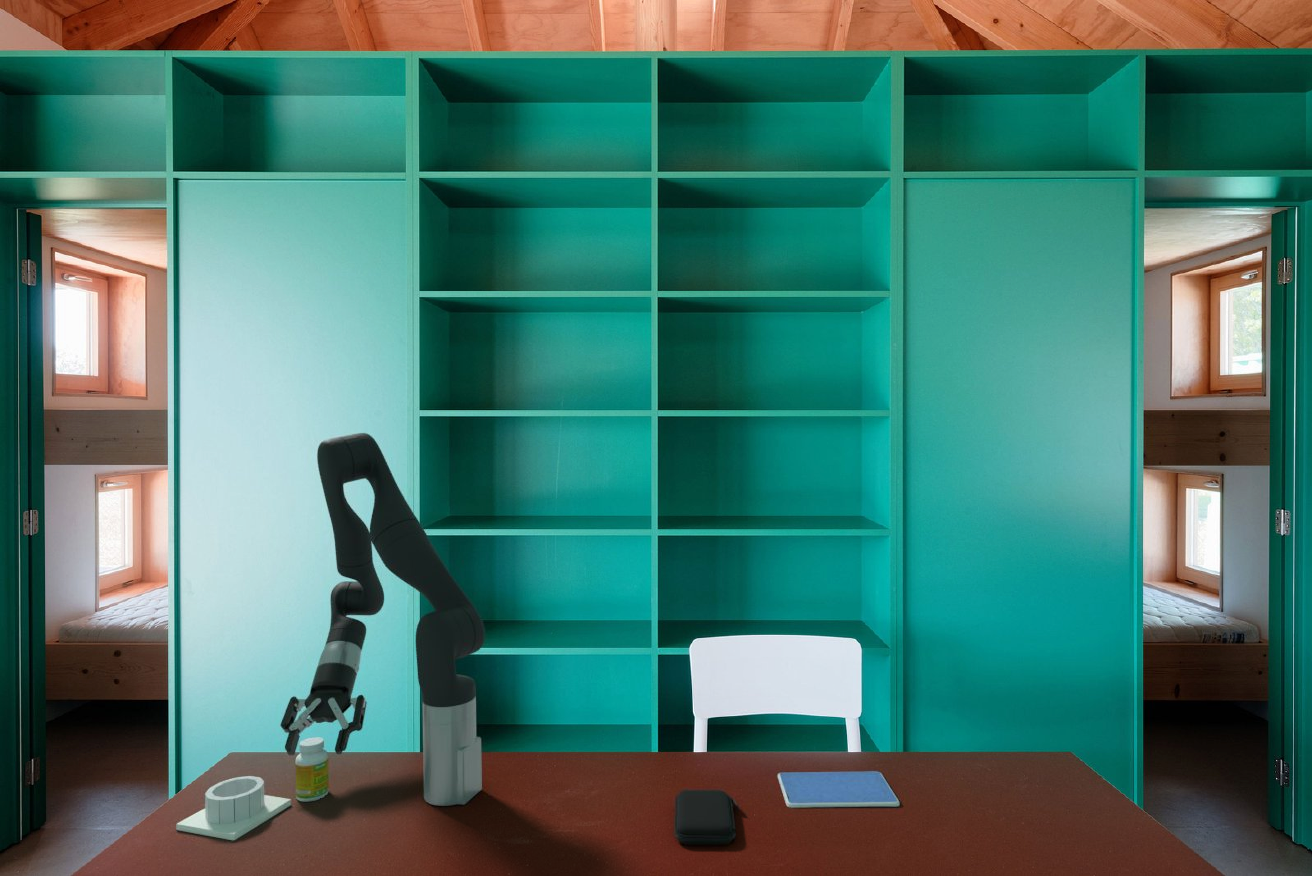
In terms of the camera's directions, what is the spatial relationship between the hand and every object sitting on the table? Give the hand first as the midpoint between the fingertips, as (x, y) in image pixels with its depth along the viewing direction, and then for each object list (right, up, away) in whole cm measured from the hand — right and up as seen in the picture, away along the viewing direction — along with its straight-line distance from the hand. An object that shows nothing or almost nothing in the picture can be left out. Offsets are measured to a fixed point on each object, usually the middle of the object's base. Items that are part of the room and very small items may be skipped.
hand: (314, 753), depth 136 cm
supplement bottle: (0, -7, -1) cm, 7 cm away
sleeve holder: (-9, -7, -9) cm, 15 cm away
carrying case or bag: (+70, -7, -13) cm, 72 cm away
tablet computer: (+94, -7, -2) cm, 94 cm away
